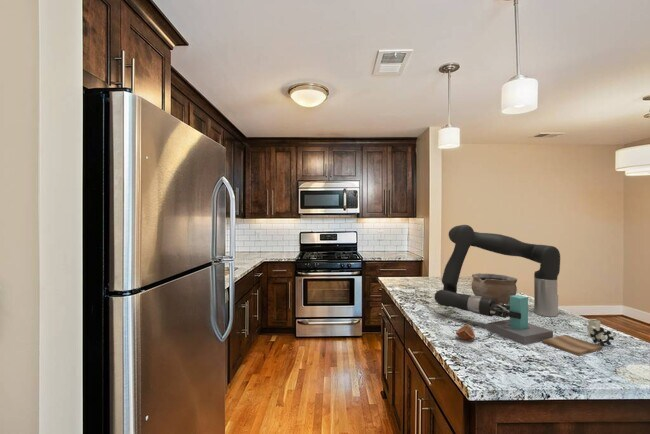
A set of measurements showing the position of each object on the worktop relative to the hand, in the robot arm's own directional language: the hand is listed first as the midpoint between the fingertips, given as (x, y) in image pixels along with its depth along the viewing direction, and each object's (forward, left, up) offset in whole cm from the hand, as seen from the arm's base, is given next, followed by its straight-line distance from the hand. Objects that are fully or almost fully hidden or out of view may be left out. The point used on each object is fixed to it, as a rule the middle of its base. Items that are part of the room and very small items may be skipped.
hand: (524, 314), depth 124 cm
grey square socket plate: (+1, -2, -9) cm, 9 cm away
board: (-6, +13, -9) cm, 17 cm away
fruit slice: (+25, -6, -9) cm, 27 cm away
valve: (-22, +13, -9) cm, 27 cm away
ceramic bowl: (-30, -39, -9) cm, 50 cm away
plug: (+1, -2, -9) cm, 9 cm away
